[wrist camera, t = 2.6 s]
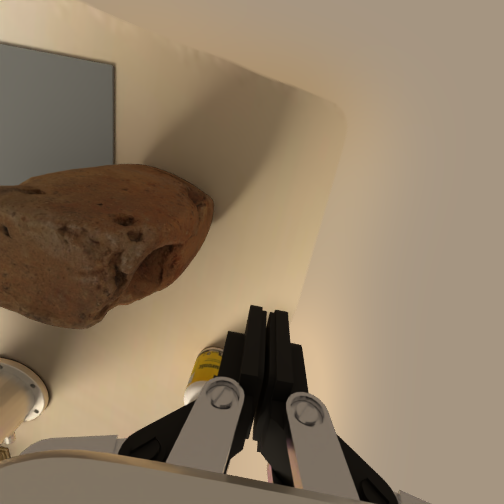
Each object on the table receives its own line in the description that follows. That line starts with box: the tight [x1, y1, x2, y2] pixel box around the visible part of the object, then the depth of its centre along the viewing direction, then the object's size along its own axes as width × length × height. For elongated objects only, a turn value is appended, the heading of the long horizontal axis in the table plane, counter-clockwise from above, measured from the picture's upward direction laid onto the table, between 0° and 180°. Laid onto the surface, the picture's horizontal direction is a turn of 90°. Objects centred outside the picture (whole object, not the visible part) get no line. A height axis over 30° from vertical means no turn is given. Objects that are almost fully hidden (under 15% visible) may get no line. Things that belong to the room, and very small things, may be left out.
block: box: [0, 164, 214, 329], centre depth 23 cm, size 11×8×20 cm
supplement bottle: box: [184, 347, 223, 405], centre depth 36 cm, size 5×5×10 cm
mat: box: [0, 44, 114, 186], centre depth 32 cm, size 22×23×1 cm
